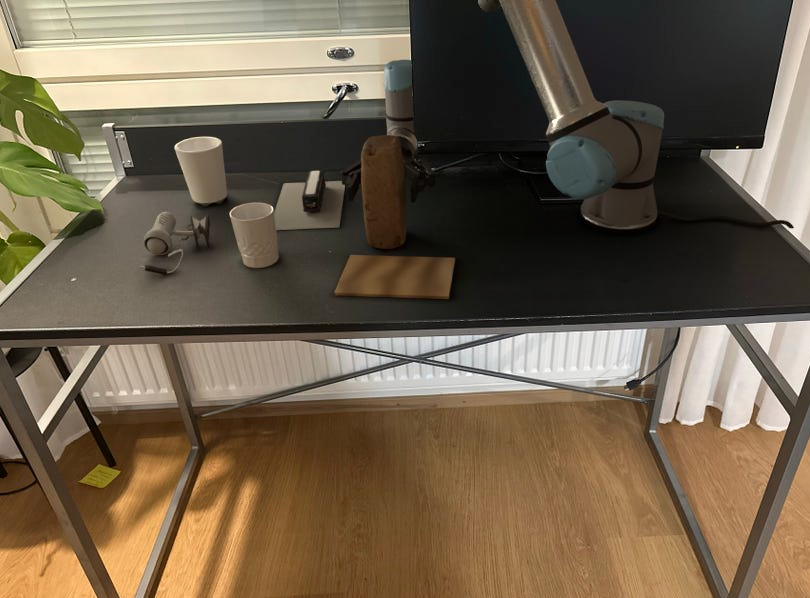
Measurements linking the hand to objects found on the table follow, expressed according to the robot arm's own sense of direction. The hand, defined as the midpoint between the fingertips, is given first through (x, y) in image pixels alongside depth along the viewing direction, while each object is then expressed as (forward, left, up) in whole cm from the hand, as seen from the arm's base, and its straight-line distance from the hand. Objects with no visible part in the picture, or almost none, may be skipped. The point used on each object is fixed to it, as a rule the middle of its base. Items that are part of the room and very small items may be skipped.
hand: (381, 194), depth 129 cm
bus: (+20, -20, -11) cm, 30 cm away
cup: (+43, -21, -11) cm, 49 cm away
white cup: (+23, +6, -11) cm, 26 cm away
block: (0, -4, -11) cm, 12 cm away
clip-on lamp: (+40, +5, -11) cm, 42 cm away
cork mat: (-4, +11, -11) cm, 16 cm away
